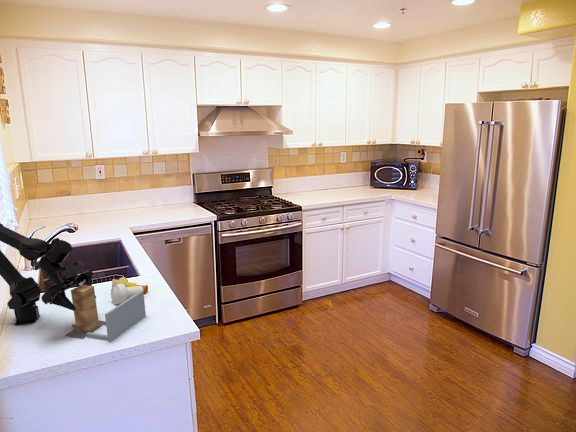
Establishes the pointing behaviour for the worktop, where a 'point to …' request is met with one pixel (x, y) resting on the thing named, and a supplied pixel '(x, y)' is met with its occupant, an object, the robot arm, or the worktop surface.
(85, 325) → the oak block
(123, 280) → the toy
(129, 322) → the lane rack
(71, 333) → the mat
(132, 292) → the spotlight
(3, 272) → the robot arm
